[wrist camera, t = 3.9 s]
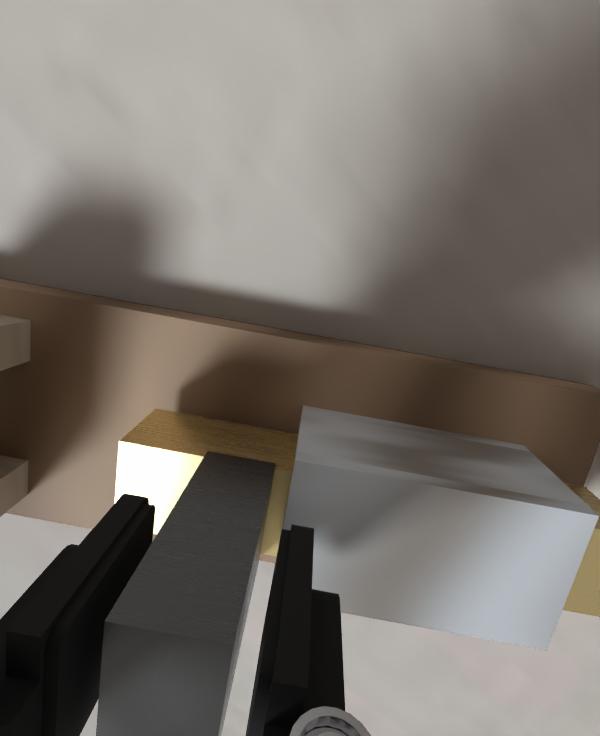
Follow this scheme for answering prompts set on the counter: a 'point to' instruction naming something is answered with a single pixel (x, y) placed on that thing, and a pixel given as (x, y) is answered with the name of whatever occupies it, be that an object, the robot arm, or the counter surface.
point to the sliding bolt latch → (320, 451)
